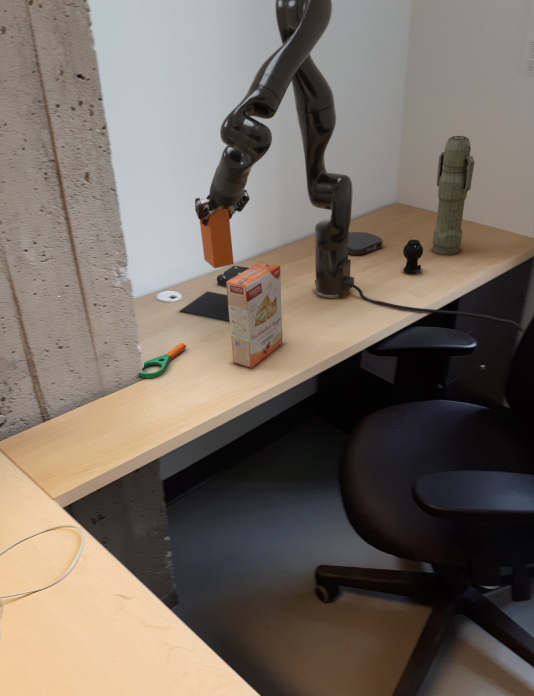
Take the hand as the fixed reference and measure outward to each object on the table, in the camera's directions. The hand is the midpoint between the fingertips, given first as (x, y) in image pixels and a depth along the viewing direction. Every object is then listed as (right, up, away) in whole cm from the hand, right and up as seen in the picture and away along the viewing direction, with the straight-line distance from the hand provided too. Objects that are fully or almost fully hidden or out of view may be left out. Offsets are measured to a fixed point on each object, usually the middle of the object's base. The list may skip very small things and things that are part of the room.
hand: (215, 220), depth 153 cm
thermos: (+72, +3, +44) cm, 84 cm away
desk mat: (+1, -20, +14) cm, 25 cm away
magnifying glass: (-11, -38, -10) cm, 41 cm away
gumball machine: (+57, -7, +30) cm, 65 cm away
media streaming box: (+43, +6, +50) cm, 66 cm away
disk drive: (+6, -11, +29) cm, 31 cm away
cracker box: (+12, -35, -8) cm, 38 cm away
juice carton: (-2, 0, +5) cm, 5 cm away
